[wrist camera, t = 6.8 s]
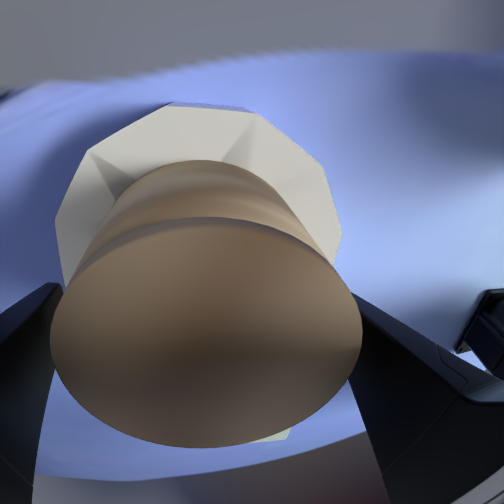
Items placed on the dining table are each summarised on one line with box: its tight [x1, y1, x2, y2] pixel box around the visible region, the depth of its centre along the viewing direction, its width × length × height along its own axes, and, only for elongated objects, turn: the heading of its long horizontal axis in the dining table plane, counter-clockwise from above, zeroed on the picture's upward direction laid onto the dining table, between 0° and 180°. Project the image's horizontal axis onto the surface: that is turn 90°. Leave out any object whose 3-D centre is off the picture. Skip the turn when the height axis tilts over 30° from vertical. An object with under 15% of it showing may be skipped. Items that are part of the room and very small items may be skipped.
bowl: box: [54, 102, 342, 288], centre depth 12 cm, size 10×10×3 cm
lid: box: [50, 160, 363, 448], centre depth 9 cm, size 7×7×5 cm
